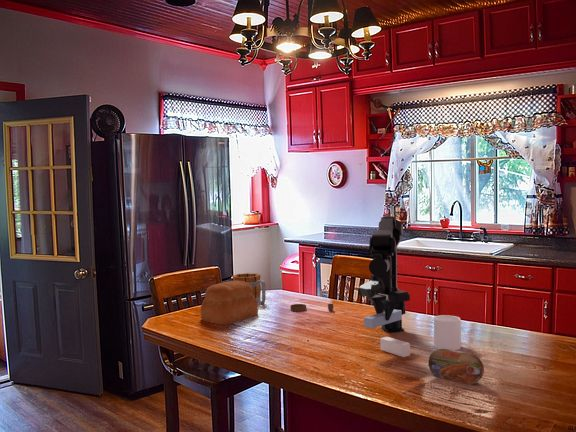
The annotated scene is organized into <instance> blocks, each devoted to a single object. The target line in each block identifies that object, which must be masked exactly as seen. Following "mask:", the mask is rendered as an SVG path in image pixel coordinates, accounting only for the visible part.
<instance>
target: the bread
mask: <svg viewBox="0 0 576 432" xmlns="http://www.w3.org/2000/svg"><path fill="white" fill-rule="evenodd" d="M252 292H253V289H252V287H251V286H250V285H249V284H248V283H247V282H244V281H237V280H234V281H233V280H231V281H224V282H219V283H217V284H215V283H214V284H211V285H210V286H209V287H207V288H206V290H205V292H204V299H203V301H202V303H201V306H200V319H201V321H202V320H203V321H202V322H204V321H207V322H206V323H208V322H211V323H210V324H213V323H215V324H214V325H218V324H219V326H227V325H232V324H235V323H237V322H241V321H244V320H247V319H251V318H254V317H256V316H257V315H258V313H259V304H258V303H257V301H256V299H255V297H254V295H253V293H252Z"/></svg>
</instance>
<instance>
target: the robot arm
mask: <svg viewBox="0 0 576 432" xmlns="http://www.w3.org/2000/svg"><path fill="white" fill-rule="evenodd" d="M403 236H404V228H403V223H402V222H401V221H399V219H398V220H397V218H396V216H392V215H388V216H385V215H383V216H381V218H380V221H379V222H378V230H376V231H374V232H373V233H372V235H371V237H370V238H369V245H368V256H372V257H373V258H372V260H370V262H369V265H368V270H369V272H370V273H371V276H370V280H369V281H366V282H365V283H363V284H362V285H360V286H359V287H358V288H357V293H358V295H360V296H361V297H366V299H367V300H368V301H370V302H371V303H372V305H373V309H374V311H375V313H376V314H379V313H383V312H385V318H386V321H388V320H389V319H390V317H391V315H392V312H393V310H394V309H396V310H401V311H402V316H404V315H406V303H405V302H409V301H411V296H410V295H411V294H410V293H409V291H405V290H401V289H399V287H398V246H399V244H400V243H401V241H402V237H403ZM380 328H381V329H382V330H384V331H386V332H388V333H392V332H401V331H405V328H403V319H401V320H398V321H395V322H391V323H388V324H385V325H381V326H380Z"/></svg>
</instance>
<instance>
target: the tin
mask: <svg viewBox="0 0 576 432" xmlns="http://www.w3.org/2000/svg"><path fill="white" fill-rule="evenodd" d="M428 367H429V370H430V372H431V374H433V376H434V377H436V378H437V379H443V380H447V381H451V382H454V383H460V384H464V385H469V386H471V385H474V384H477V383H478V382H479V381H480V380H481V379H482V378H483V375H484V372H485V369H484V363H483V362H482V360H481V358H480V357H478V356H477V355H476V354H474V353H472V352H466V351H460V350H448V349H437V350H434V351H432V353H431V354H430V355H429V357H428Z"/></svg>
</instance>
